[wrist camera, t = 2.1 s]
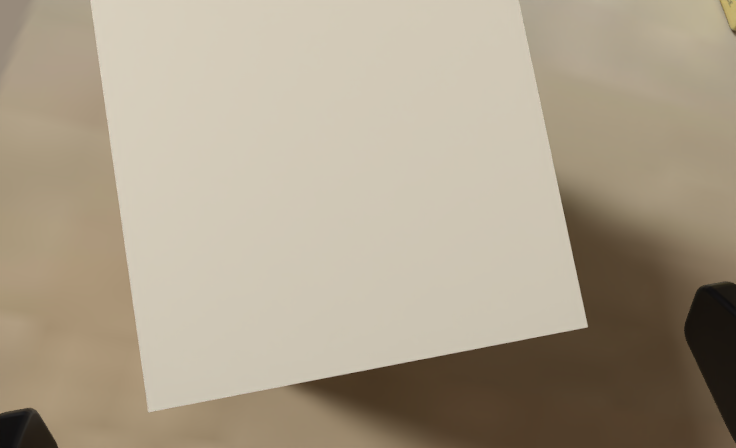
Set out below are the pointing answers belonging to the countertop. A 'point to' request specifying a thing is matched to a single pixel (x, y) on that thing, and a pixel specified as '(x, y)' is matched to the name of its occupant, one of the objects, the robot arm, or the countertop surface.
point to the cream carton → (328, 187)
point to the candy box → (730, 12)
